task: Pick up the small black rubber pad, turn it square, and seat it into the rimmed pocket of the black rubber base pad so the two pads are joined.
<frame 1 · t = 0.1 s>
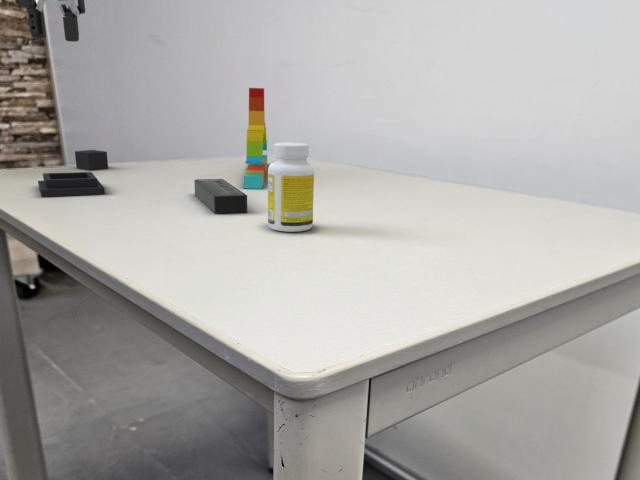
hand: (56, 39, 103), 21 cm above the table, tool pointing down, fingers open, 8 cm apart
base pad: (71, 190, 95), on the table
multiport hub: (219, 204, 90), on the table
supplement bottle: (290, 229, 76), on the table
chart: (256, 176, 116), on the table
small pad: (92, 168, 117), on the table
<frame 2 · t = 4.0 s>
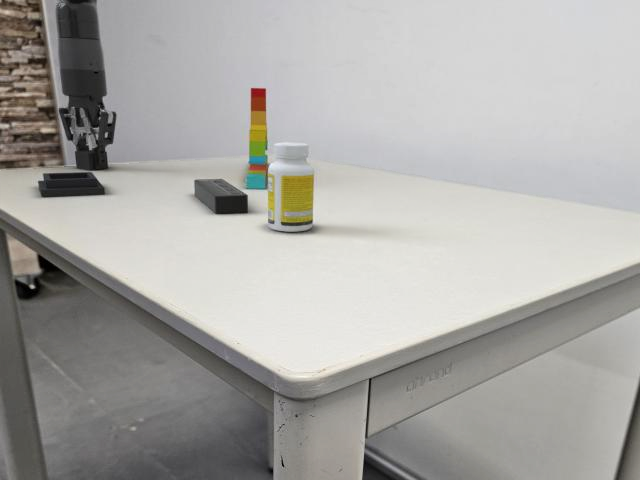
hand: (92, 166, 117), 0 cm above the table, tool pointing down, fingers closed on small pad, 4 cm apart
small pad: (92, 168, 117), on the table, touching gripper
everything else where it was.
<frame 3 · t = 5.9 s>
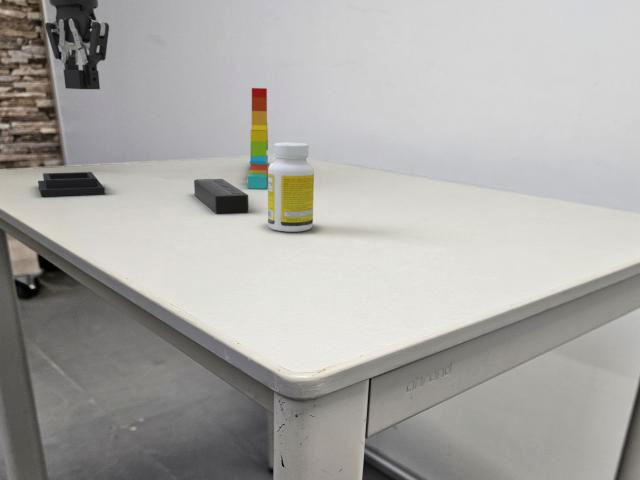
hand: (82, 87, 109), 14 cm above the table, tool pointing down, fingers closed on small pad, 4 cm apart
small pad: (82, 88, 109), point 14 cm above the table, touching gripper
everything else where it was.
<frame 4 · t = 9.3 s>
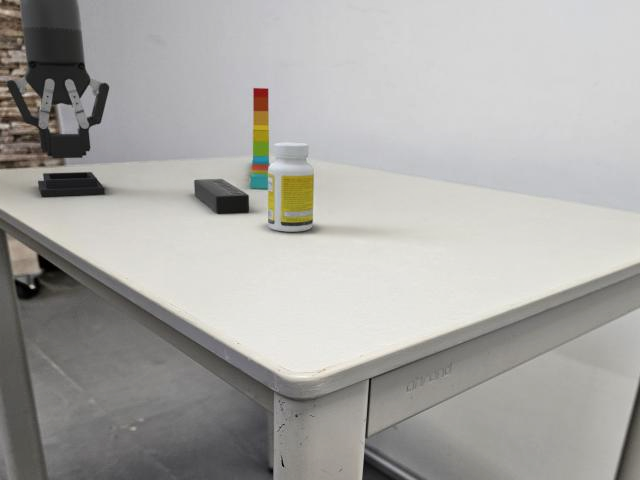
hand: (66, 154, 93), 5 cm above the table, tool pointing down, fingers closed on small pad, 4 cm apart
small pad: (66, 156, 93), point 5 cm above the table, touching gripper
everything else where it was.
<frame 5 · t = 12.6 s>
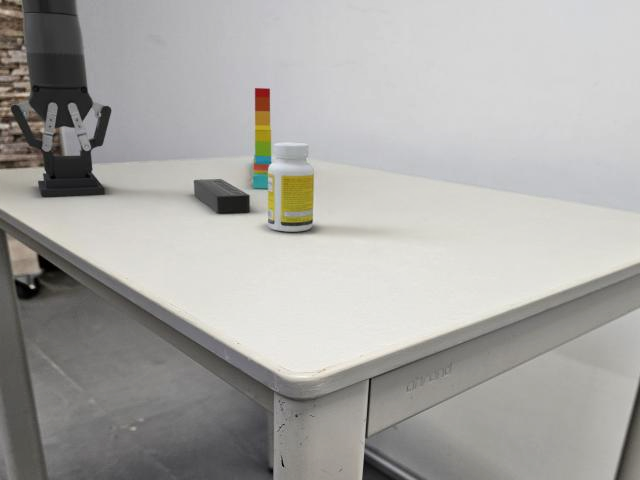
hand: (69, 176, 94), 2 cm above the table, tool pointing down, fingers closed on small pad, 4 cm apart
small pad: (69, 177, 94), point 2 cm above the table, touching gripper
everything else where it was.
when the fingers open (3 cm above the table, at t = 14.5 s): small pad drops 2 cm, resting on base pad.
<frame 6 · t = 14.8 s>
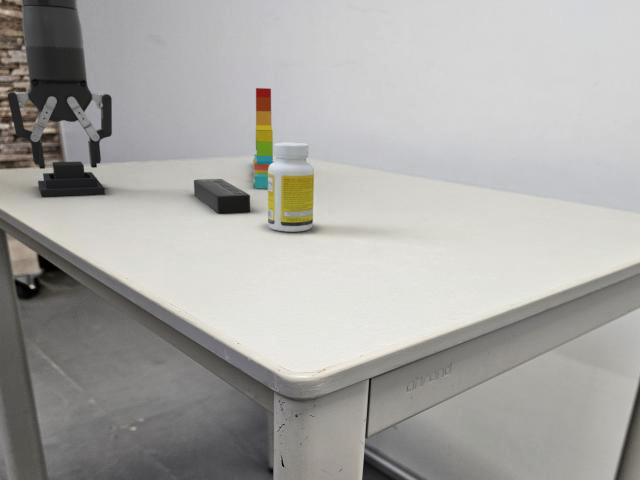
hand: (68, 167, 94), 3 cm above the table, tool pointing down, fingers open, 6 cm apart
small pad: (70, 183, 95), point 1 cm above the table, touching base pad
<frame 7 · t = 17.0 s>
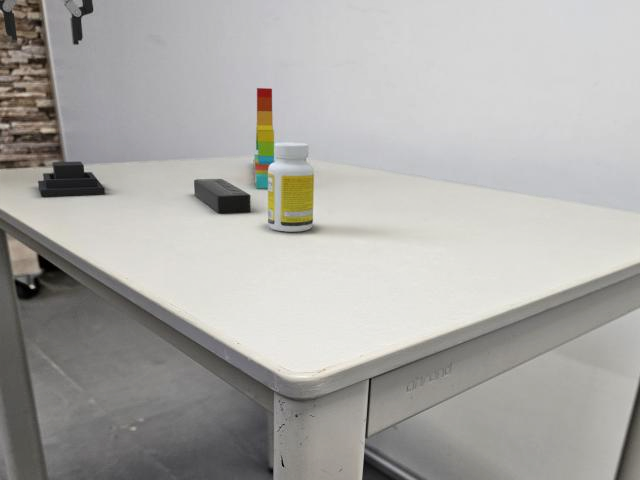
hand: (45, 42, 96), 21 cm above the table, tool pointing down, fingers open, 8 cm apart
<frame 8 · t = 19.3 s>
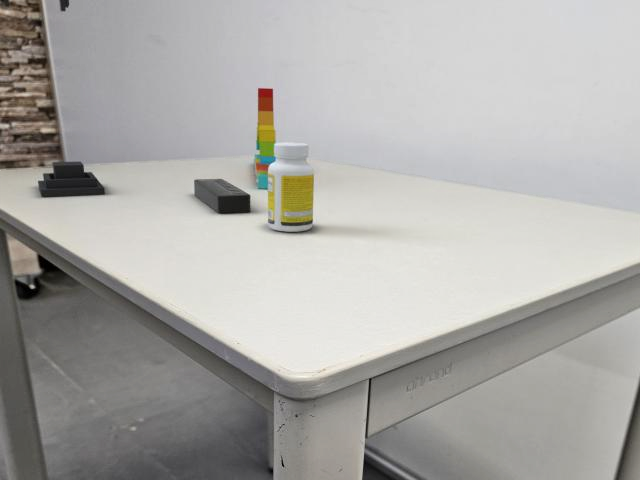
hand: (35, 9, 105), 26 cm above the table, tool pointing down, fingers open, 8 cm apart
at the end: small pad 0.1 cm off-centre on the base pad, point 1.0 cm above the base pad's base; small pad tilted 0°; the gripper is holding nothing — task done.
